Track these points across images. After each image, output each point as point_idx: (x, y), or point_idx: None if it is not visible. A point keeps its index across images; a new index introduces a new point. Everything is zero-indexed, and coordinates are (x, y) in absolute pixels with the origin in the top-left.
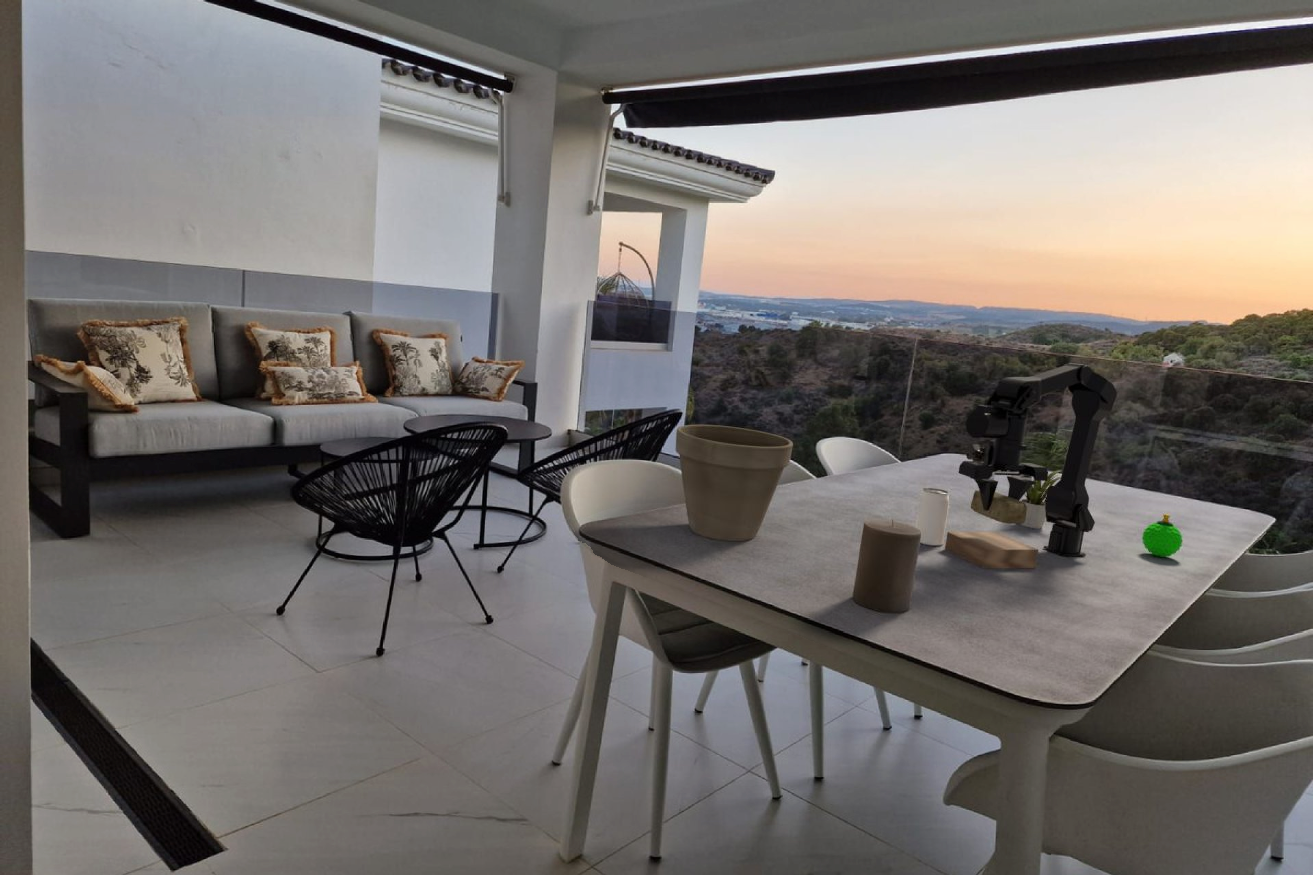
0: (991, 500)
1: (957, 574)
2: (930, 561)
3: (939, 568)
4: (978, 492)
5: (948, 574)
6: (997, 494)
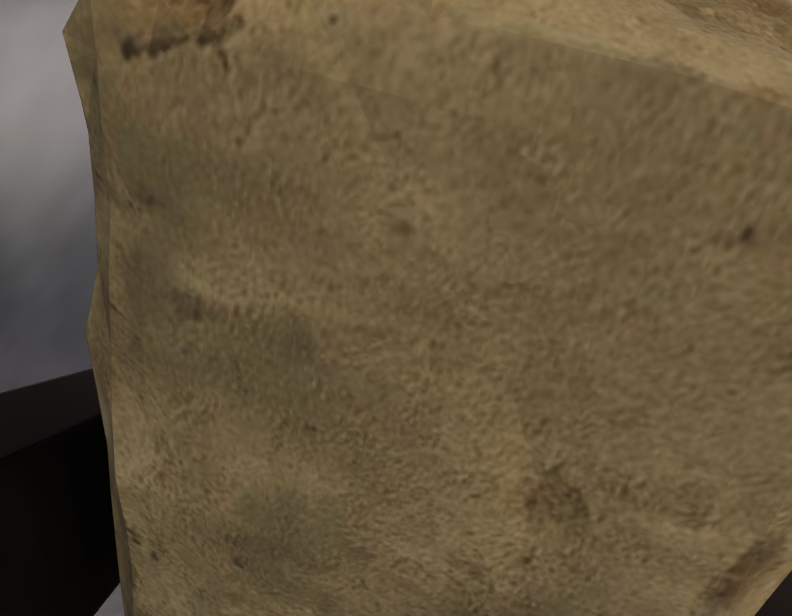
0: (111, 569)
1: (80, 344)
2: (47, 127)
3: (37, 245)
4: (97, 172)
5: (35, 327)
6: (502, 525)
